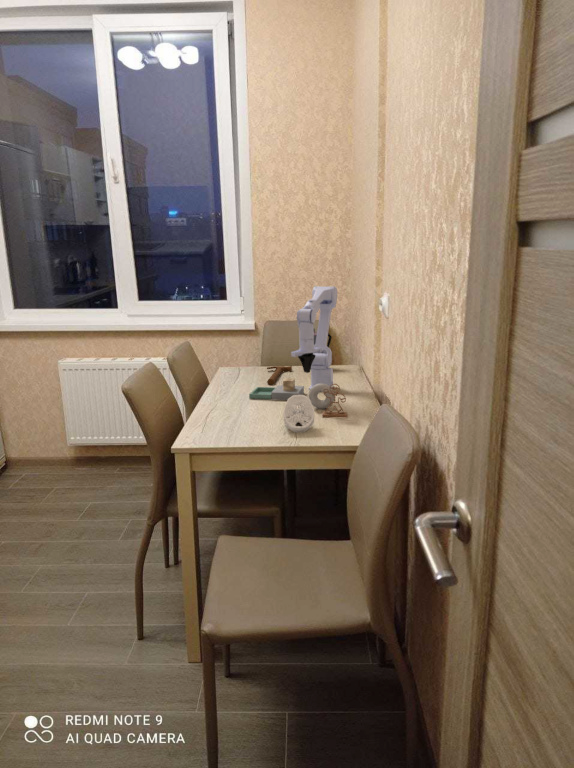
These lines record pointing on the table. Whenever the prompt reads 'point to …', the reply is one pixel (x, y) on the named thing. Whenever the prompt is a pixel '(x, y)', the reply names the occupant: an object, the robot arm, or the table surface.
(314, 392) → the donut
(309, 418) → the skull bowl
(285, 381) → the maple block
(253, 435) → the table surface
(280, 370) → the hammer
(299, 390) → the slate plate
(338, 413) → the gingerbread man figurine
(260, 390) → the box
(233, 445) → the table surface
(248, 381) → the table surface
